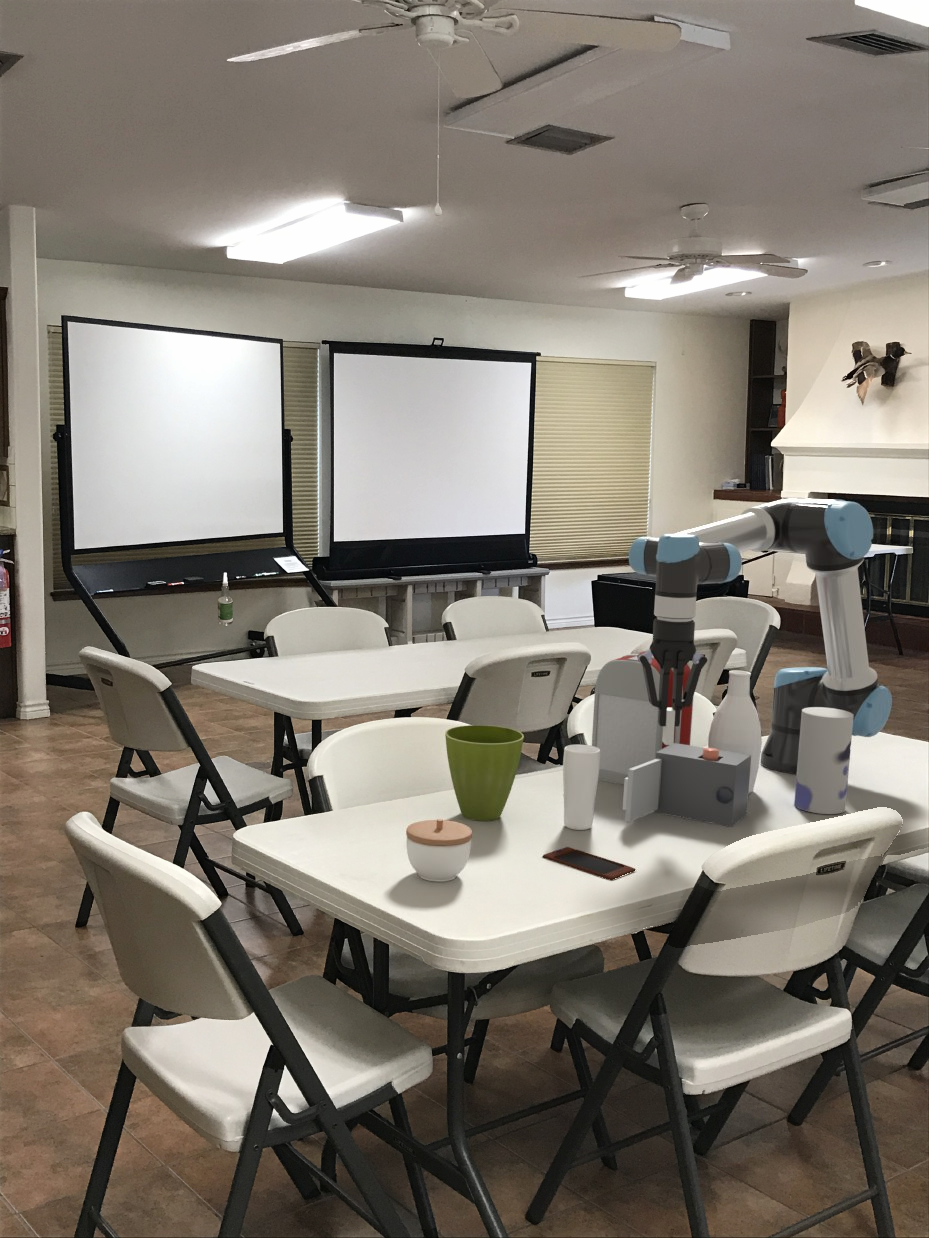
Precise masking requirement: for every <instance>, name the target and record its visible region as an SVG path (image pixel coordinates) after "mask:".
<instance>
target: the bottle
mask: <svg viewBox="0 0 929 1238" xmlns="http://www.w3.org/2000/svg"><path fill="white" fill-rule="evenodd" d="M728 675H729V678H728V686H727V693H726V695H725V697H724V698H723V699H722V701H721V702H720V704H719V705H718V707H717V708H716V711H715V712H714V715H713V718H712V720H711V723H710V724H711V725H710V728H709V732H708V738H707V739H708V744H707V745H708V746H707V748H715V749H718V750H722V751H728V752H734V753H741V754H747V755H751V765H750V778H749V791H748V795H750V794H751V793H753V791H754V788H755V784H756V780H757V776H758V772H759V768H760V761H761V753H762V743H763V739H762V727H761V722H760V718H759V714H758V711H757V708H756V706H755V704H754V702H753V700H752V698H751V695H750V690H751V689H750V686H751V684H750V683H751V679H750V678H751V676H752V673H751V672H750V671H747V670H739V669H738V670H733V669H732V670H729V672H728Z"/></svg>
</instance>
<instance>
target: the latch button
mask: <svg viewBox="0 0 929 1238" xmlns="http://www.w3.org/2000/svg"><path fill="white" fill-rule="evenodd" d="M703 748H704V749H703V759H708V760H714V761H718V757H719V750H718V749H715V748H708V747H703Z"/></svg>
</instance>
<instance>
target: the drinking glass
mask: <svg viewBox="0 0 929 1238" xmlns="http://www.w3.org/2000/svg"><path fill="white" fill-rule="evenodd" d="M563 749H564V750H563V751H564V752H563V759H562V760H563V761H562V781H563V784H562V785H563V825H564V826H565V827H566V828H567V829H570V830H574V831H587V830H589V829H591V828H592V827H593V820H594V812H595V803H596V796H597V790H598V783H599V782H598V781H599V780H598V777H599V769H600V749H599V748H597V747H594V746H592V745H589V744H588V745H586V744H569V745H566V746H565V747H564V748H563Z"/></svg>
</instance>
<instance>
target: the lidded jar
mask: <svg viewBox="0 0 929 1238" xmlns="http://www.w3.org/2000/svg"><path fill="white" fill-rule="evenodd" d="M405 831H406V833H405V834H406V853H407V857H408V861H409V863H410V865H411V866H412V868H413V869H414V871H415V872H416V873H418V876H419V878H421V879H422V880H424V881H428V882H432V883H433V882H434V883H445V882H451V881H453V880H455V879H456V878H457V876H458V875H459V874H461V872H462V871H463V870H464V869H465V867H466V866H467V863H468V861H469V858H470V855H471V854H470V853H471V850H472V849H471V847H472V839H473V830H472V828H471V827H469V826H468V825H466V824H464V823H460V822H457V821H452V820H444V819H443V818H436V819H427V820H420V821H417V822H413V823H411V824H410V825H408V826H407V827H406V830H405Z"/></svg>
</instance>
